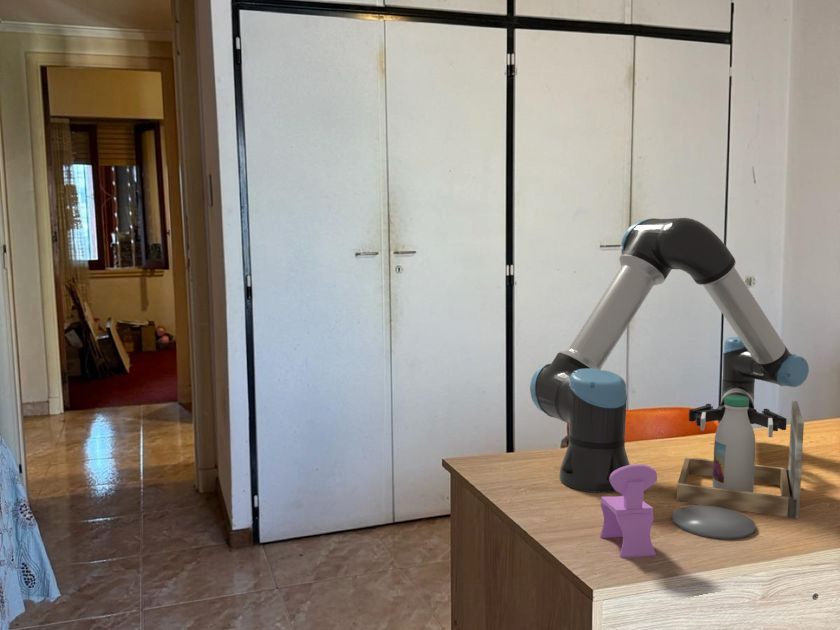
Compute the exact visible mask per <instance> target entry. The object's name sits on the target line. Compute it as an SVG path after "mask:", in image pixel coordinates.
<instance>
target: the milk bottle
mask: <svg viewBox="0 0 840 630" xmlns="http://www.w3.org/2000/svg"><path fill="white" fill-rule="evenodd" d="M724 403H725V405H724V407H725V413H724V416H723V418H722V420H721V421H719V424H718V425H717V428H716V431H715V436H714V444H713V445H714V447H713V460H714V463H713V477H712V487H713V488H721V489H729V490H737V491H745V492H753V493H754V488H755V487H754V486H755V482H754V470H755V465H756V464H755V463H756V436H755V431H754V429H753V425H752V424H751V423H750V421H749V418H748V413H747V410H748V409H749V407H748V406H749V398H748V397H745V396H740V395H727V396H725V398H724Z"/></svg>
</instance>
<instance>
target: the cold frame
mask: <svg viewBox="0 0 840 630" xmlns="http://www.w3.org/2000/svg"><path fill="white" fill-rule="evenodd" d="M790 410H791V411H790V412H791V413H790V427H789V428H790V430H789V432H790V433H789V446H788V447H789V450H788V467H777V466H770V465H760V464H755V470H754V483H759V482H760V483H761V484H767V483H768V484H769V485H775V484H777V485H778V486H779V490H780V495H776V494H767V493H759V492H754V491H753V492H745V491H737V490H729V489H721V488H713V486H711V487H710V486H705V485H704V486H703V485H696V484H688V481H689V476H690V475H693V476H703V477H709V478H710V477H711V478H713V463H714V459H709V458H699V457H690V456H685V457H684V461H683V462H682V463H683V464H682V467H681V471H680V474H679V478H678V481H677V486H676V487H677V488H676V502H677V503H682V504H683V503H684V504H691V505H706V506H715V507H721V508H726V509H730V510H734V509H735V510H734V511H741V510H742V512H750V513H757V514H762V515H763V514H765V515H771V516H780V517H785V518H786V517H787V518H794V519H800V518H799V517H800V505H801V504H800V503H801V502H800V501H801V499H800V498H801V484H802V483H801V481H802V466H803V464H802V463H803V444H804V429H805V428H804V427H805V423H804V420H803V415H802V413H801V409H800V405H799V402H798V401H797V400H791V409H790Z"/></svg>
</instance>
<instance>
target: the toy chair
mask: <svg viewBox="0 0 840 630" xmlns="http://www.w3.org/2000/svg"><path fill="white" fill-rule="evenodd" d="M657 474H658V473H657V471H656V469H655V468H654V467H652V466H651V465H647V464H641V463H637V464H636V463H635V464H630V465H627V466H624V467H621V468H619V469H617V470H615V471H613V472H612V473H611V475H610V478H609V480H610V483H611V485H612V487H613V488H614V489H615V491H617V493H619V494H620V495H621V496H617V495H616V496H600V507H601V511H602V515H603V516H602V518H603V522H602V523H603V524H602V529H601V532H600V534H599V538H600V539H605V538H606V539H607V538H610V539H611V538H622V545H621V549H620V552H619V558H632V557H645V556H646V557H648V556H656V555H657V553H656V551H655V549H654V546H653V543H652V539H651V529H652V525H653V522H654V518H655V517H654V507H652V506H651V505H649V504H648V503H646V502H645V501H644V492H645V491H647V490H648V489H649V488H651V487H652V486H653V485H655V484H656V483H657V480H658V475H657Z"/></svg>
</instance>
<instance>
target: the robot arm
mask: <svg viewBox="0 0 840 630" xmlns="http://www.w3.org/2000/svg"><path fill="white" fill-rule="evenodd" d="M620 245H621V247H622V248H620V249H621V250H620V251H621V255H620V256H619V263H620V264H619V265H620V268H619V270H618V271H617V273H616V274H615V276H614V278H613V279H612V281H611V282H610V284H609V285H608V287H607V288H606V290H605V292H604V293H603V295H602V297H601V298H600V299H599V301H598V302H597V304H596V306H594V309H593V310H592V311H591V314H590V315H589V316H588V318H587V320H586V321H585V323H584V324H583V325H582V328H581V329H580V330H579V332H578V334H577V335H576V337H575V338H574V340H573V341H572V342H571V344H570V346H569V348H568V349H565V350H561V351H558V353H557V354H556V356H555V357H554V359H553V361H552V362H551V363H546V364H545V365H541V366H540V367H539V368H538V369H537V370H536V371H535V372H534V373H533V376H532V377H531V380H530V386H529V392H530V397H531V400H532V402H533V404H534V406H536V408H537V409H538V410H540V411H541V412H543V413H544V414H546V415H547V416H548V417H551V418H555V419H557V420H560V421H562V422H564V423H566V424H568V425H569V426H568V445H567V449H566V451H565V454H564V457H563V460H562V463H561V464H560V468H559V480H560V481H561V483H562V484H563V485H565V486H567V487H569V488H572V489H575V490H579V491H584V492H591V493H616V492H617V491H615V489H614V488H613V487H612V485H611V483H610V480H609V478H610V475H611V473H612V472H613V471H615V470H617V469H619V468H621V467H624V466H627V465H631V464H630V461H629V458H628V455H627V451H626V447H625V446H626V445H625V444H626V441H625V440H626V423H627V422H626V418H627V417H626V416H627V415H626V414H627V400H628V395H627V386H626V381H625V379H624V378H622V376H620V375H619V374H617V373H615V372H612V371H609V370H605V369H604V370H602V368H603V366H604V364H605V362H606V361H607V360H608V358H609V357H610V355H611V354H612V351H613V350H614V349H615V347H616V345H617V344H618V343H619V340H620V339H621V338H622V336H623V334H624V333H625V331H626V330H627V329H628V326H629V325H630V323H631V321H632V320H633V319H634V317H635V316H636V314H637V312H638V311H639V309H640V308H641V306H642V304H643V303H644V301H645V300H646V298H647V296H648V295H649V293H650V291H651V290H652V289H653V287H654V286H658V285H662V284H663V283H664V282H665V281H666V279H667V277H668V276H669V274H670V273H671V271H672V270H681V271H683V272H685V273H687V274H688V275H690V276H691V278H692V279H693V282H695V284H697V285H699V286H703V287H704V289H705V290H706V292H707V293H708V295H709V296H710V298H711V299H712V300H713V302H714V303H715V305H716V307H717V308H718V309H719V311H720V312H721V314H722V315H723V317H724V318H725V319H726V321H727V322H728V323H729V326H730V327H731V328H732V330H733V331H734V332H735V334H736V336H730V337H727V338H725V340H724V345H723V352H722V355H723V356H722V357H723V358H722V360H723V361H722V363H723V364H722V382H721V383H722V384H721V397H720V398H721V400H720V405H718V406H717V407H714V406H713V405H712V403H706V404H705V405H703V406H702V405H701V406H698V407H695V408H691V409H689V410H688V421H689V422H692V423H693V422H695V424H696V426H697V427H700V429H699V431H703V432H704V431H705V428H706V423H708V422H715V421H719V422H721V420H722V418H723V416H724V413H725V407H724V405H725V403H724V398H725V396H727V395H740V396H745V397H748V398H749V406H748V407H749V409H748V410H747V413H748V418H749V421H750V423H751V425H755V424H756V425H757V426H762V427H764V428H767V436H768V438H773V436H774V434H773V432H779V430H781V431H786V430H787V423H788V422H787V421H788V420H787V419H788V418H786V417H784V416H781V415H779V414H778V413H775V412H773V411H771V410H770V409H769V408H763V409H762V410H761V411H757V409H756V408H755V382H756V380H759V381H761V382H762V381H763V382H766V383H770V384H775V385H779V386H780V387H790V388H796V387H799V386H801V385H802V384H803V385H804V383H805V381H806V380H807V378H808V376H809V371H810V369H809V364H808V361H807V360H806V359H805V358H804V357H802V356H800V355H797V354H796V353H795V354H794V353H793V354H792V353H791V351H789V349H788V347H786V345H785V343H784V341H783V340H782V339H781V337H780V335H779V334H778V332H777V331H776V329H775V328H774V325H773V324H772V323H771V322H770V320H769V319H768V317H767V315H766V314H765V312H764V310H763V309H762V308H761V306H760V304H759V303H758V301H757V300H756V298H755V297H754V296H753V293H752V292H751V291H750V289H749V287H748V286H747V284H746V283H745V281H744V280H743V278H742V277H741V275H740V274H739V272H738V271H737V269H736V268H735V267H736V263H737V262H736V259H735V257H734V255H733V254H732V253H731V251H730V249H729V248H728V247H727V245H726V244H725V243H724V242H723V241H722V240H721V239H720V237H719V236H718V235H717V234H716V233H714V232H713V230H712V229H710V228H709V227H708V226H706V225H705V224H703V223H702V222H700V221H699V220H696V219H693V218H688V217H678V218H677V217H676V218H674V217H673V218H648V219H646V218H645V219H644V220H639V221H637V222H634V224H632V225H631V226H629V228H627V229H626V231H625V233H624V235H623V236H622V239H621V244H620ZM617 493H618V492H617Z"/></svg>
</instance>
